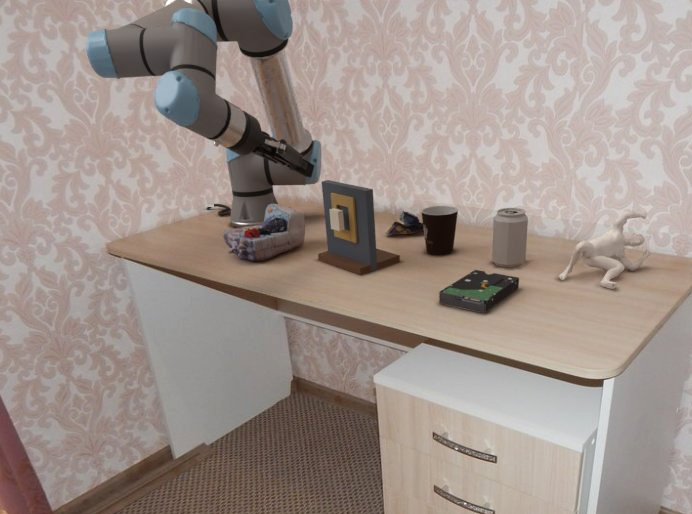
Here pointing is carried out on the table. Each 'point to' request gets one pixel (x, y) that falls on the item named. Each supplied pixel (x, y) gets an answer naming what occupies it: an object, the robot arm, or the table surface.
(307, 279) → the table surface
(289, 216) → the cell model
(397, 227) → the snack package
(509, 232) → the can
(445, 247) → the coffee mug
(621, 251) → the person figurine
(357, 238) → the switch wall
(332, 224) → the switch paddle
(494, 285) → the disk drive
